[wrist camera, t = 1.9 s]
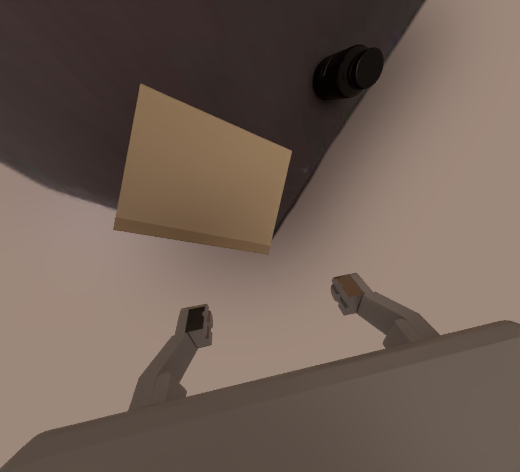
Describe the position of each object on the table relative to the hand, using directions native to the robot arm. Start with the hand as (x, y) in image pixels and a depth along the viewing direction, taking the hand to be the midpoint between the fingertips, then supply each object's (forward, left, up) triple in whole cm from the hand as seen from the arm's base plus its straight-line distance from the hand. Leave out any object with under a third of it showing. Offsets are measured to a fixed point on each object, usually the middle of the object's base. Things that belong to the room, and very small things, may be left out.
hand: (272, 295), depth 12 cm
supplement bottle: (+16, +23, -37) cm, 46 cm away
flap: (-2, 0, -21) cm, 21 cm away
